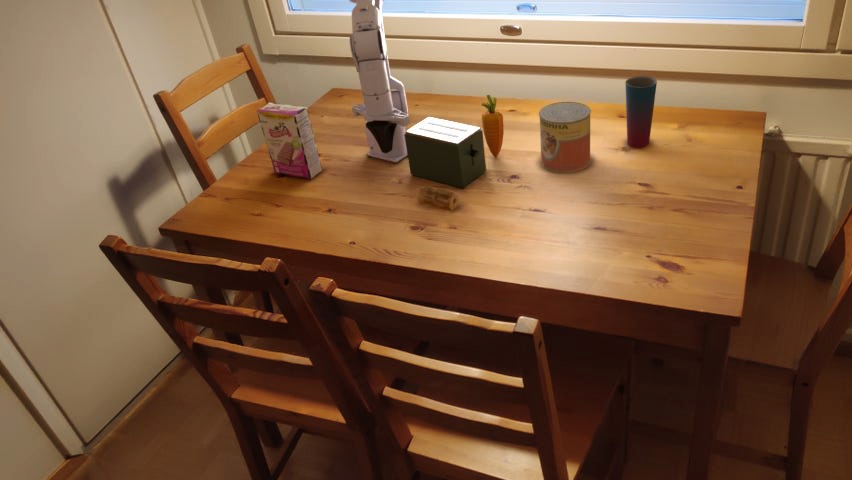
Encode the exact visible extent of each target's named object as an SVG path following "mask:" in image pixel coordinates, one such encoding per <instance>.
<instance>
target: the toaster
mask: <svg viewBox="0 0 852 480" xmlns="http://www.w3.org/2000/svg"><path fill="white" fill-rule="evenodd" d="M404 137H405V143H406V149H407V160H408V167H409V173H410V175H412V177H416V178H418V179H422V180H423V179H424V180H427V181H429V182H430V181H431V182H434V183H437V184H442V185H444V186H449V187H453V188H457V189H461V190H464V189H466V188H467V187H468V186H469V185H471V184H472V183H473V182H475V181H476V180H477V179H479V178H480V177H482V176H483V175H484V174H485V173H486V171H487V166H486V165H487V164H486V153H485V144H484V142H485V141H484V131H483V129H482V127H480V126H474V125H470V124H465V123H460V122H455V121H450V120H445V119H442V118H441V119H440V118H436V117H431V116H428V117H426V118H425V119H423V120H422V121H419V122H418V123H417V124H415V125H413V126H412V127H410V128H408V129H407V130H406V131H405V134H404Z"/></svg>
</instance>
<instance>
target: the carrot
mask: <svg viewBox="0 0 852 480" xmlns="http://www.w3.org/2000/svg"><path fill="white" fill-rule="evenodd" d="M486 98H487V101H488V102H486V103H485V102H481V106H482V107H485V108H486V109H487V110H485V111H484V112H483V113H481V123H482V131H483V136H484V138H485V142H486V145H487V148H488V149H489V151H490V153H491V155H492V156H493V157H494V158H497V157H498V156H499V154H500V152H501V149H502V147H503V143H504V133H505V132H504V116H503V114H502V112H501V111H500V110H499V109H496V106H497V98H496V97H492V96H491V94H489V93H488V94H487V95H486Z"/></svg>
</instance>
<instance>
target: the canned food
mask: <svg viewBox="0 0 852 480" xmlns="http://www.w3.org/2000/svg"><path fill="white" fill-rule="evenodd" d="M591 113H592V110H591V108H590V107H589V106H588V105H586V104H585V103H582V102H575V101H561V102H560V101H559V102H558V101H557V102H554V103H550V104H547V105H545V106H542V108H541V109H540V110H539V112H538V117H539V133H540V134H539V137H540V164H541V166H542V167H543V168H544V169H546V170H547V171H550V172H554V173H562V174H564V173H565V174H566V173H575V172H578V171H581V170H584V169H585V168H587V167H588V166H589V165H590V163H591V160H592V159H591Z"/></svg>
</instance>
